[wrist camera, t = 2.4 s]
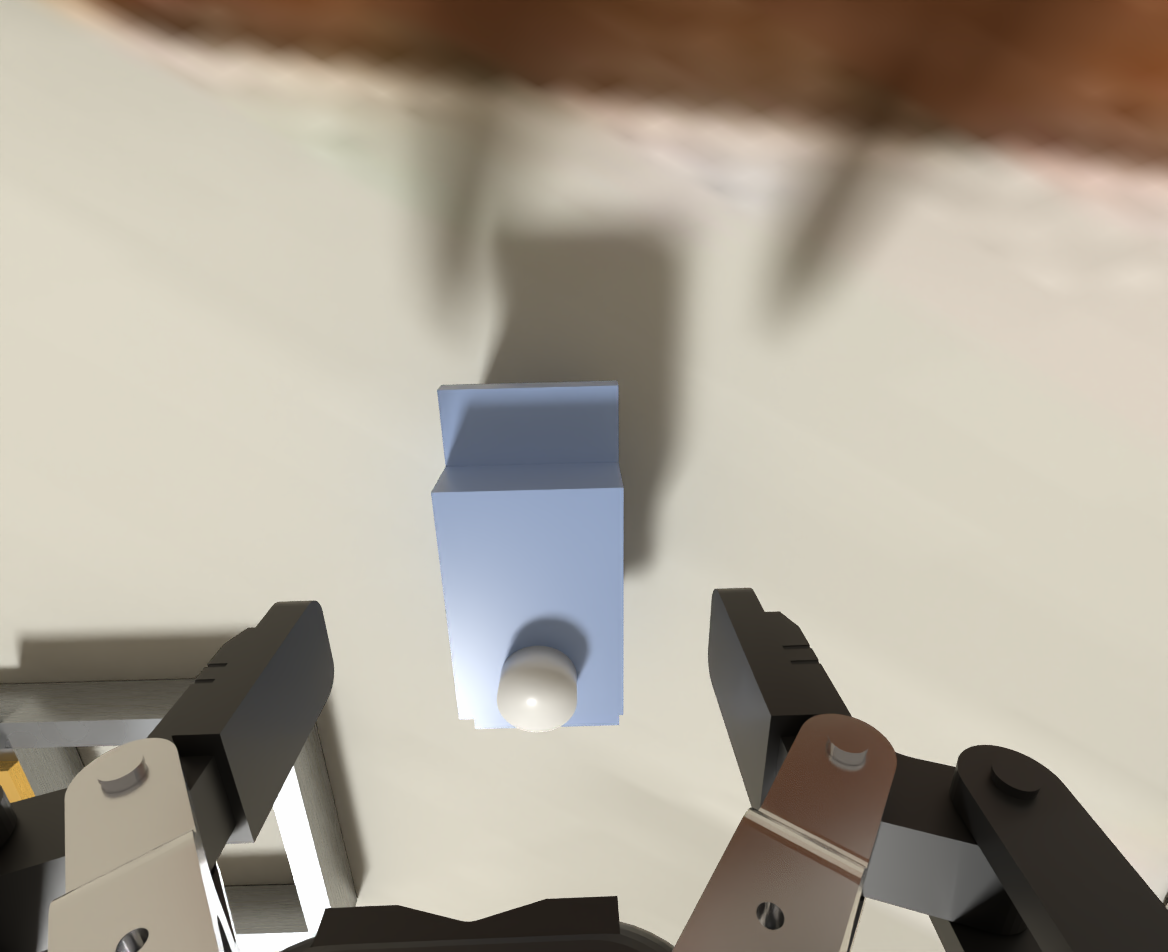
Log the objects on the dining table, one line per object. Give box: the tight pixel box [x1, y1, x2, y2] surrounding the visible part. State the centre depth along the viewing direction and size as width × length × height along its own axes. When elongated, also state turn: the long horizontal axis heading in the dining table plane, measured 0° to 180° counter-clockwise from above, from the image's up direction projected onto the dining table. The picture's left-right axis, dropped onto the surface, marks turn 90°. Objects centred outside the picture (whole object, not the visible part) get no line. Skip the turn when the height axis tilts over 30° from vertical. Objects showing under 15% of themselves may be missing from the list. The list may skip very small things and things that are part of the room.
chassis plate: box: [0, 679, 357, 952], centre depth 21 cm, size 14×11×2 cm
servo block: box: [431, 381, 624, 732], centre depth 16 cm, size 4×10×6 cm, turn 1°
